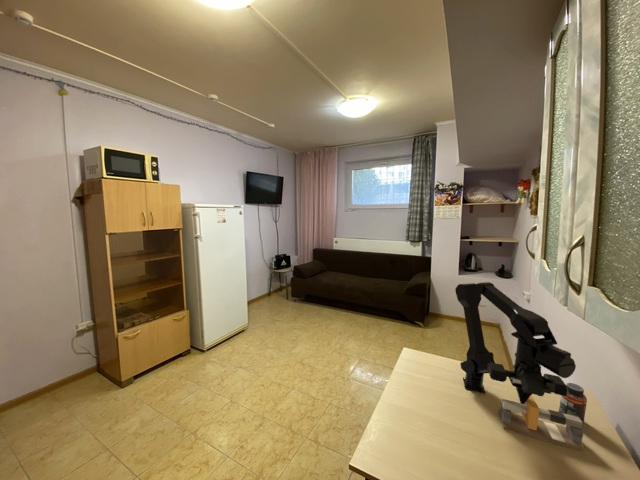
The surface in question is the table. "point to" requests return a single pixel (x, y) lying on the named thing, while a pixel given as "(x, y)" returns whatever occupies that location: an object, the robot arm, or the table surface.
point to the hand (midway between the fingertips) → (521, 402)
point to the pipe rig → (543, 425)
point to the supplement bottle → (574, 402)
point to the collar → (531, 413)
